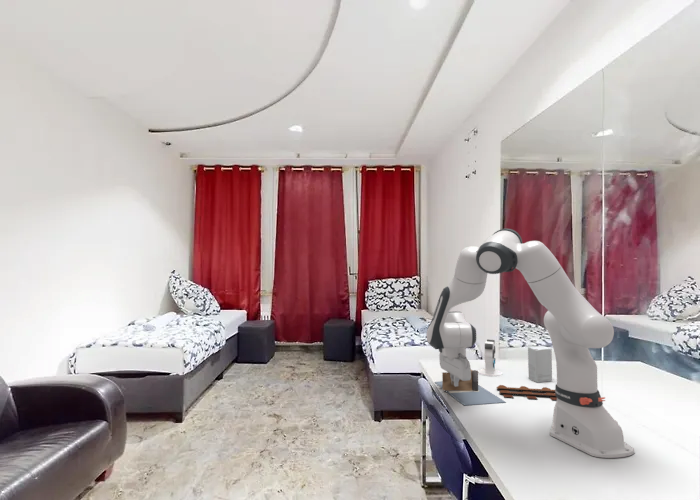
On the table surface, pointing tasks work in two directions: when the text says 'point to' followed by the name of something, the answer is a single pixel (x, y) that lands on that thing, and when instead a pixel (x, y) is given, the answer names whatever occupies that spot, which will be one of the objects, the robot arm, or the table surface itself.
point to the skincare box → (540, 364)
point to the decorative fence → (527, 392)
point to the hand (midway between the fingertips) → (455, 385)
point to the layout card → (473, 396)
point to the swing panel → (461, 384)
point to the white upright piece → (489, 360)
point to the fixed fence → (474, 380)
